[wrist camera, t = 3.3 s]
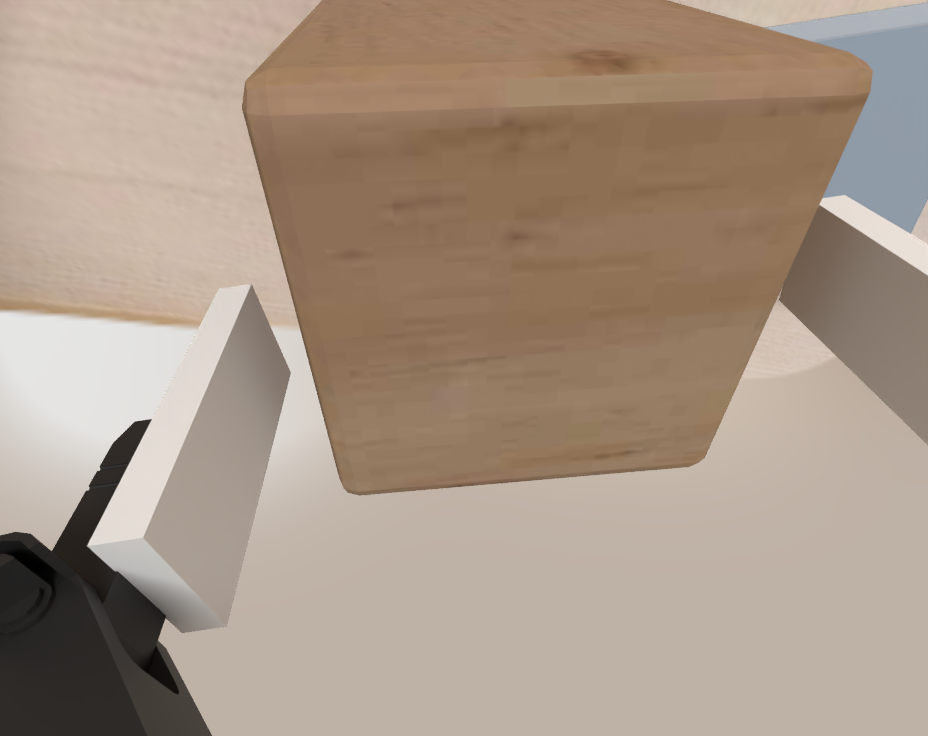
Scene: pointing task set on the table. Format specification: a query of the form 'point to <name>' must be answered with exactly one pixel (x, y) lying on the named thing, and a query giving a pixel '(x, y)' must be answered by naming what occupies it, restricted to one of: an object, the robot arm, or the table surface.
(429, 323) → the wooden block
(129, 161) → the table surface
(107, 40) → the table surface
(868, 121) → the base brick
